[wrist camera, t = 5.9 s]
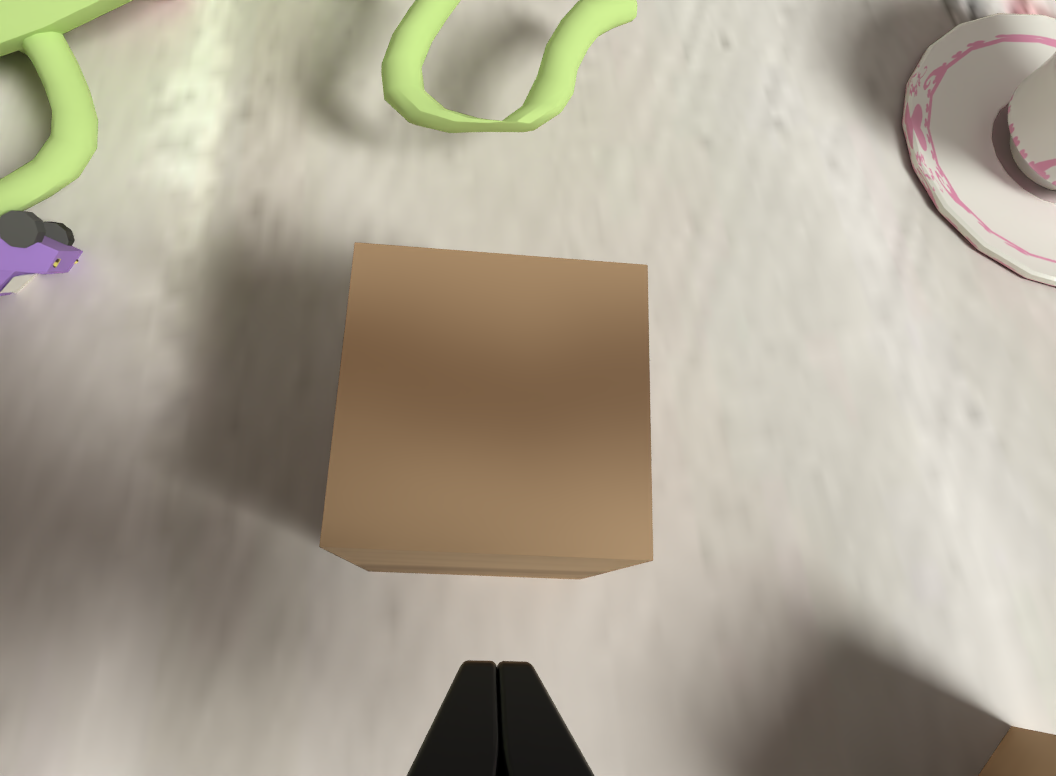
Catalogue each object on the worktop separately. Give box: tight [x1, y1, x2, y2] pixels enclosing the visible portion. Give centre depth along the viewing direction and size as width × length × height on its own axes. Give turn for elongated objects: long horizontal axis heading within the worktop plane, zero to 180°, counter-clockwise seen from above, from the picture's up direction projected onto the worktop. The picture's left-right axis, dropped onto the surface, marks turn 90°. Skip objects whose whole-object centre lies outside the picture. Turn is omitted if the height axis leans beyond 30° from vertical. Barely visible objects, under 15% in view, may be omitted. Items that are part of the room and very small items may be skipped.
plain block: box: [319, 242, 653, 579], centre depth 18 cm, size 6×6×8 cm
